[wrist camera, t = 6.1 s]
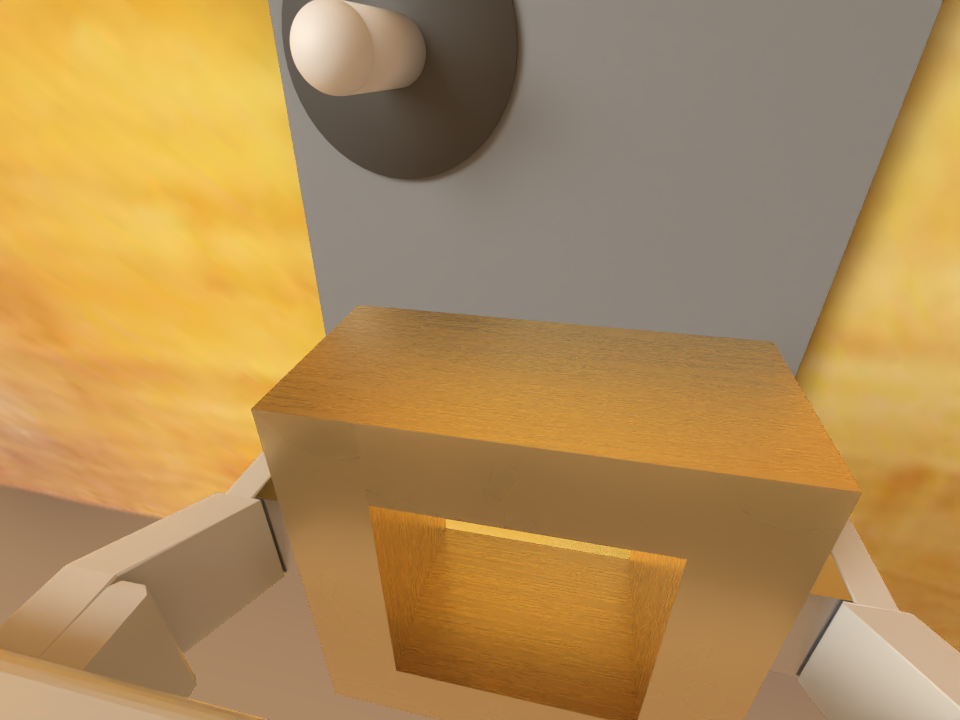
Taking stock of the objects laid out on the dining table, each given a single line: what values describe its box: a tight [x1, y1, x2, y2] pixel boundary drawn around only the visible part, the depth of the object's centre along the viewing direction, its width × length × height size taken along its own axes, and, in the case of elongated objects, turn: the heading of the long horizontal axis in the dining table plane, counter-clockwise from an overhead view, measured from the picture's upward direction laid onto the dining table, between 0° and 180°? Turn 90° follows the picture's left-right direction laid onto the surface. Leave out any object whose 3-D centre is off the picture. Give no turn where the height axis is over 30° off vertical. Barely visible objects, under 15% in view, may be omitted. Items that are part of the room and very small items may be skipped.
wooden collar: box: [251, 305, 862, 720], centre depth 8 cm, size 6×6×3 cm
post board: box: [268, 0, 943, 377], centre depth 18 cm, size 22×22×8 cm
